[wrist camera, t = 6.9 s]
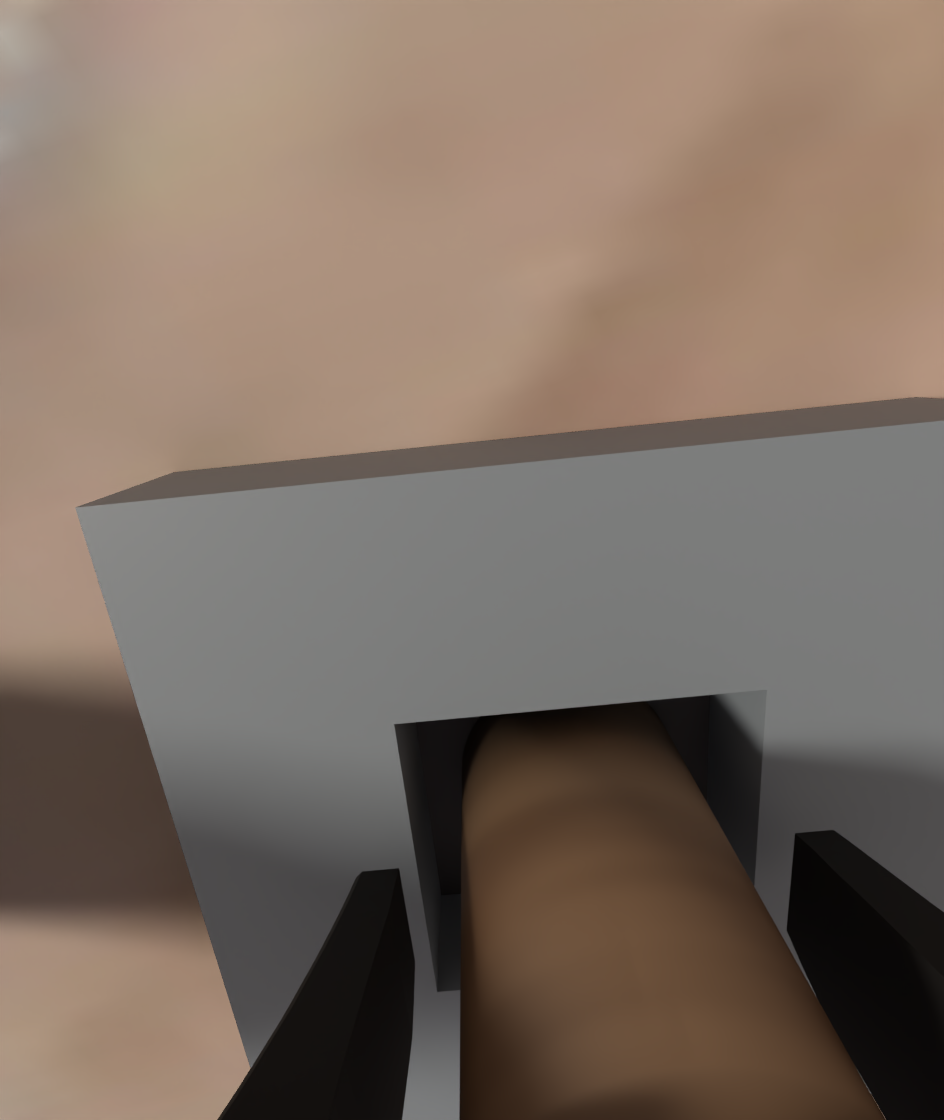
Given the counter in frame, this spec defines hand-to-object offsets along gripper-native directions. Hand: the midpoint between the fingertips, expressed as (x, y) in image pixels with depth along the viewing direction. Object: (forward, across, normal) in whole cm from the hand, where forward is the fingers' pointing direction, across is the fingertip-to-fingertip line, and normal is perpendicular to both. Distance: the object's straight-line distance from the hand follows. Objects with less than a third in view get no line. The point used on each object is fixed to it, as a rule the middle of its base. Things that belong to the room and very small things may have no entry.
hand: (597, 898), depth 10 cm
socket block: (+4, 0, 0) cm, 4 cm away
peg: (+3, 0, 0) cm, 3 cm away
